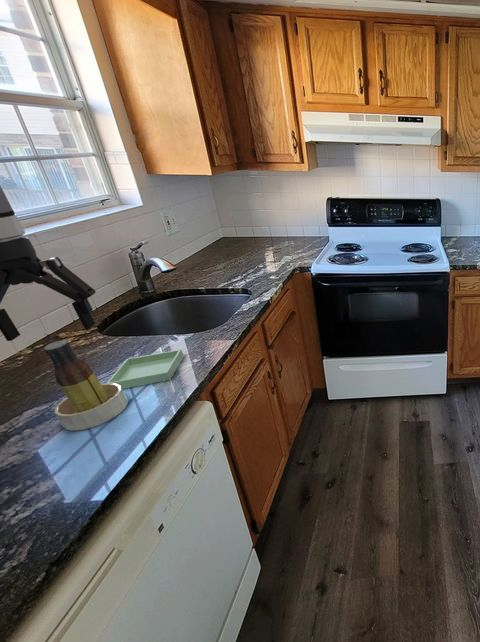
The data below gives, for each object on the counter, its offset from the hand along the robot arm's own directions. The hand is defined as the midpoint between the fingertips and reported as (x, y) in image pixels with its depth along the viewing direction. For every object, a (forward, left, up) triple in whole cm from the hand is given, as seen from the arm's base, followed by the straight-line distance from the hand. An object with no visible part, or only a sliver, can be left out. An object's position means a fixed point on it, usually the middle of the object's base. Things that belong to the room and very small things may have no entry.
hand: (53, 332), depth 81 cm
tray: (+6, +16, -23) cm, 29 cm away
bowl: (0, 0, -23) cm, 23 cm away
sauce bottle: (0, 0, -23) cm, 23 cm away
